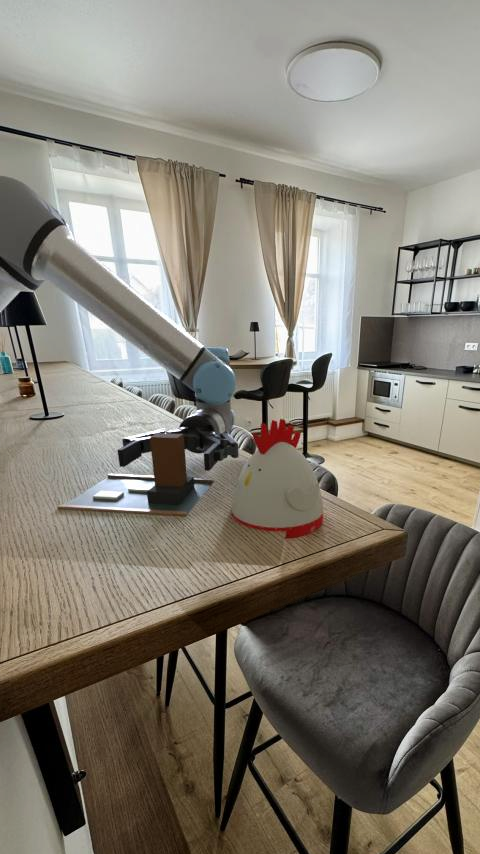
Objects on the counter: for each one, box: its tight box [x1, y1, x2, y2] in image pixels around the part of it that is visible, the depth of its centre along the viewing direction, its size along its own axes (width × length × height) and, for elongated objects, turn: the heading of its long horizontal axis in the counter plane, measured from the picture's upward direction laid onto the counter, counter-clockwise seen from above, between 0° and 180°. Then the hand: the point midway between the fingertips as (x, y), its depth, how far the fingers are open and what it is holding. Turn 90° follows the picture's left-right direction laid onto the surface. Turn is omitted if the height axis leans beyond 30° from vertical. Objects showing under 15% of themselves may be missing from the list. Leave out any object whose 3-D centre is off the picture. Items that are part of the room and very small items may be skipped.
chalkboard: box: [57, 473, 215, 517], centre depth 69 cm, size 20×16×2 cm
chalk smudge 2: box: [128, 484, 154, 492], centre depth 70 cm, size 4×2×1 cm, turn 84°
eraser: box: [147, 432, 195, 505], centre depth 66 cm, size 8×5×10 cm, turn 174°
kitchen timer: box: [231, 418, 324, 539], centre depth 60 cm, size 14×14×15 cm
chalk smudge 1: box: [93, 491, 124, 500], centre depth 67 cm, size 4×2×1 cm, turn 84°
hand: (163, 460), depth 63 cm, fingers open, 13 cm apart
